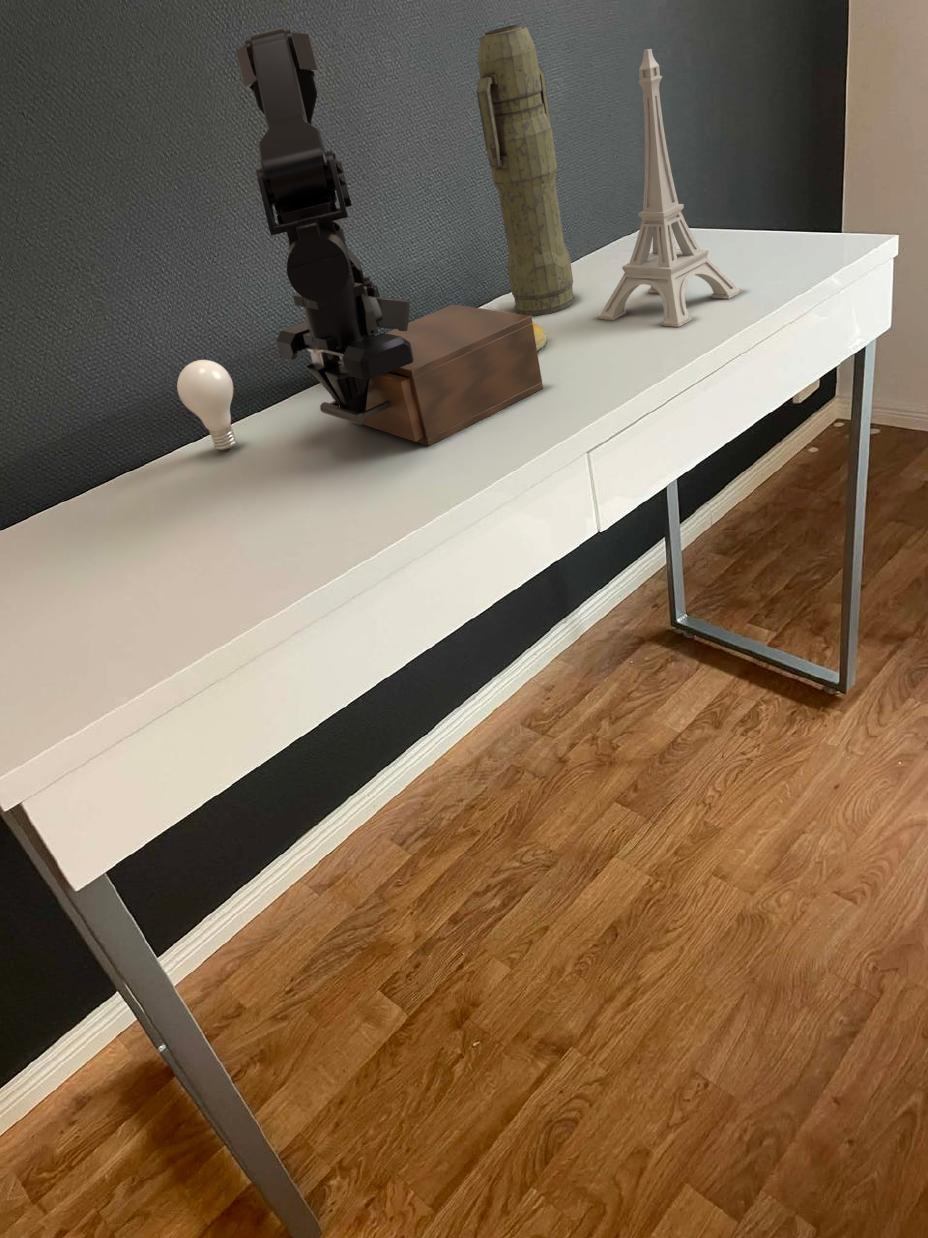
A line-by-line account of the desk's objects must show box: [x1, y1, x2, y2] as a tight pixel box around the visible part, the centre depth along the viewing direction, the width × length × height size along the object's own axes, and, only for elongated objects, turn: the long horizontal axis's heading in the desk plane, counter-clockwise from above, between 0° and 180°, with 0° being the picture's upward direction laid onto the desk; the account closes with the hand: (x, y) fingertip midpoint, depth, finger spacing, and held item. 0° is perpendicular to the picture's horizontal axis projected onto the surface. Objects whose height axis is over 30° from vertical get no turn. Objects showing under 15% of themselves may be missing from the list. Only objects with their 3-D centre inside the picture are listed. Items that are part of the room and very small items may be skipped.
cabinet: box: [385, 303, 544, 447], centre depth 111 cm, size 17×15×9 cm
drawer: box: [319, 372, 424, 443], centre depth 110 cm, size 21×13×7 cm, turn 129°
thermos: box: [476, 23, 576, 316], centre depth 130 cm, size 9×12×35 cm
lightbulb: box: [176, 359, 237, 452], centre depth 114 cm, size 6×6×11 cm
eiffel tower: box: [597, 48, 742, 328], centre depth 120 cm, size 13×13×30 cm
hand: (359, 423), depth 107 cm, fingers closed, pressing on drawer
